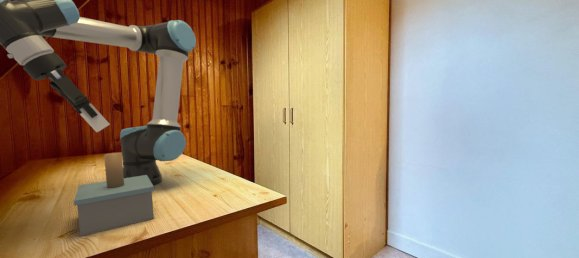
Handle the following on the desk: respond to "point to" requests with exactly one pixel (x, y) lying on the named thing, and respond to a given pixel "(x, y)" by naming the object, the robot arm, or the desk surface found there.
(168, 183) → the desk surface
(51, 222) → the desk surface
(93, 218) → the storage box
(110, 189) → the lid
